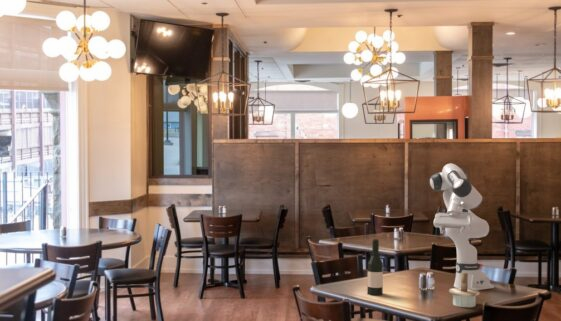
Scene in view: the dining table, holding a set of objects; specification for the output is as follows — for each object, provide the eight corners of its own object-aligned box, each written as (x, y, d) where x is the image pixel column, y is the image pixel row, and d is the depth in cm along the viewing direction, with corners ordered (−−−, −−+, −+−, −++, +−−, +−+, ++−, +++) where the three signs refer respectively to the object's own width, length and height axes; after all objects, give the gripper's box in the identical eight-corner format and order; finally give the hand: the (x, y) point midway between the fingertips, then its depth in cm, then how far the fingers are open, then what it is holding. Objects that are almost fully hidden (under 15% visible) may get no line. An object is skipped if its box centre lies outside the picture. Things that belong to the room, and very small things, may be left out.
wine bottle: (365, 292, 372) (366, 237, 371) (380, 292, 373) (381, 237, 372) (369, 295, 364) (369, 239, 363) (384, 295, 364) (385, 239, 364)
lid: (464, 288, 355) (464, 269, 354) (486, 294, 341) (486, 274, 341) (442, 291, 347) (442, 272, 347) (463, 297, 334) (464, 277, 334)
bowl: (467, 301, 351) (467, 290, 351) (479, 306, 341) (479, 294, 341) (448, 302, 348) (448, 291, 348) (460, 307, 338) (460, 295, 338)
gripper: (435, 208, 369) (429, 228, 361) (473, 210, 360) (469, 230, 351) (437, 216, 373) (432, 235, 365) (475, 218, 364) (470, 238, 355)
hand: (450, 233), depth 358 cm, fingers open, 8 cm apart
